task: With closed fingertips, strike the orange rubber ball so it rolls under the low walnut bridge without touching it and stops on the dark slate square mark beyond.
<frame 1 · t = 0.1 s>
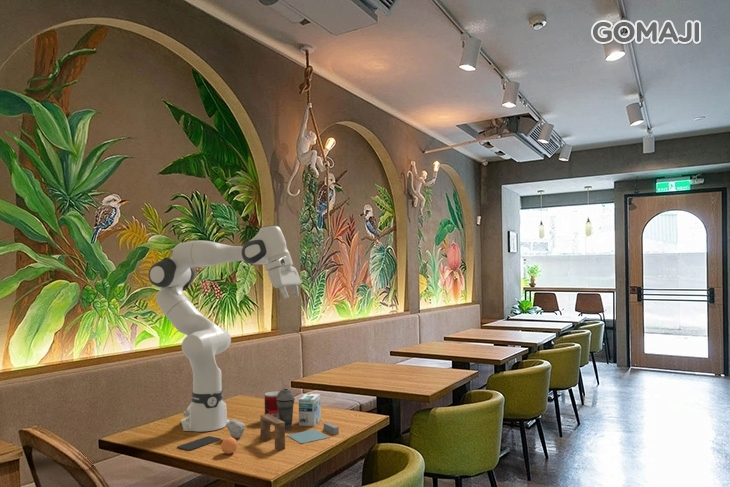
hand: (292, 297, 206), 52 cm above the table, tool tilted 20°, fingers open, 8 cm apart
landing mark: (308, 436, 199), on the table
ball: (229, 445, 182), on the table
light bulb box: (310, 423, 217), on the table
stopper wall: (331, 431, 204), on the table
bridge: (272, 444, 191), on the table
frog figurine: (235, 438, 198), on the table
phone: (199, 445, 193), on the table
canned food: (274, 420, 222), on the table
beverage cup: (285, 429, 209), on the table
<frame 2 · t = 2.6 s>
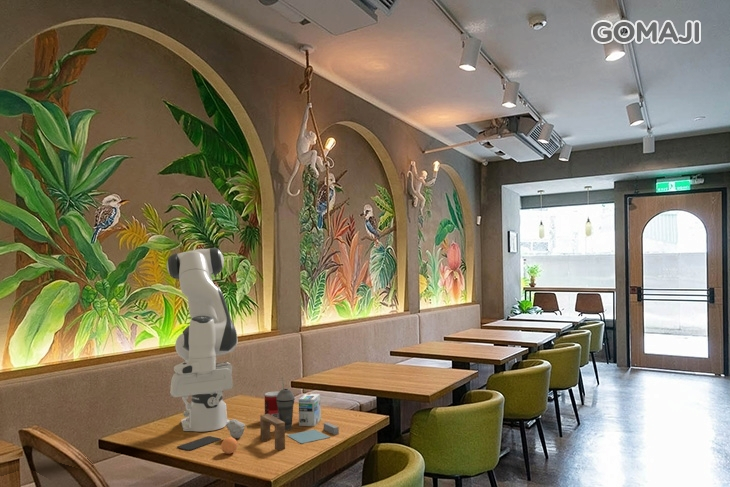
hand: (202, 406, 177), 17 cm above the table, tool pointing down, fingers open, 8 cm apart
nothing on the table moved.
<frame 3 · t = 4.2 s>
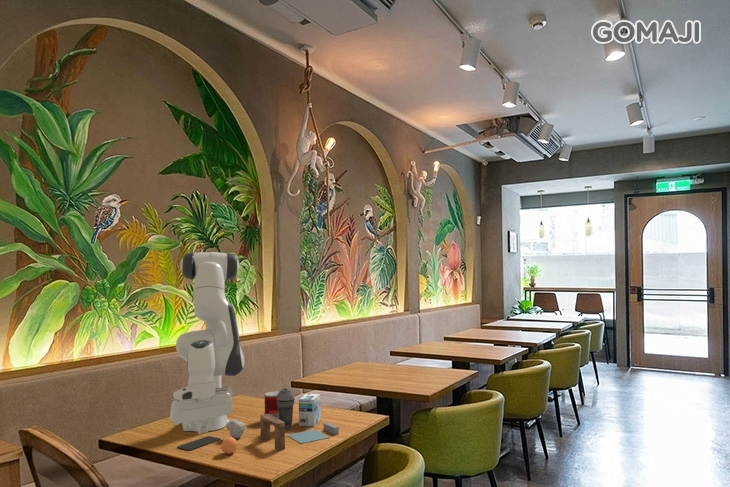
hand: (202, 432, 176), 9 cm above the table, tool pointing down, fingers closed
nothing on the table moved.
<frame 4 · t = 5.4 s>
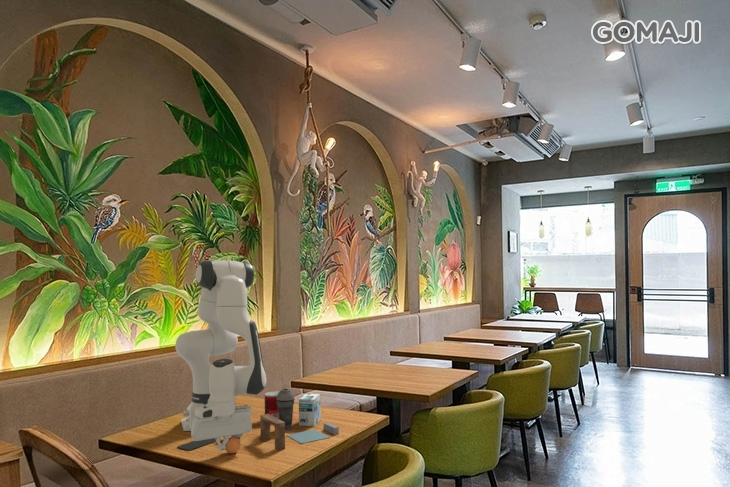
hand: (222, 449, 180), 2 cm above the table, tool pointing down, fingers closed
ball: (232, 445, 182), on the table, touching gripper
everything else where it was.
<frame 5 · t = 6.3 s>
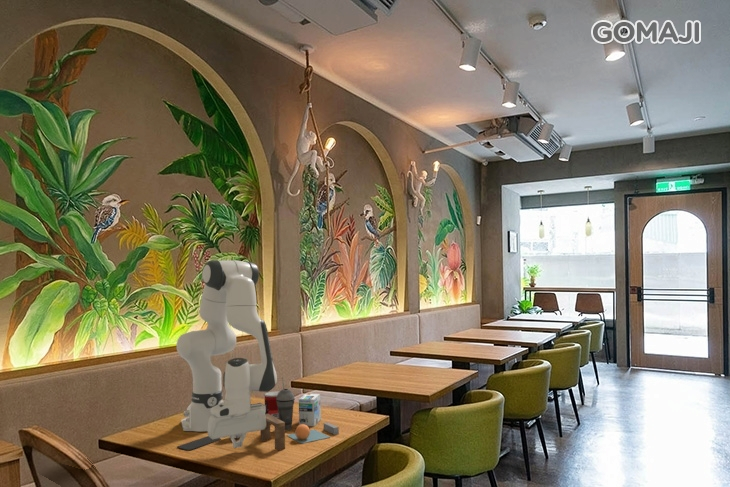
hand: (237, 446, 183), 2 cm above the table, tool pointing down, fingers closed
ball: (302, 431, 196), on the table
everything else where it was.
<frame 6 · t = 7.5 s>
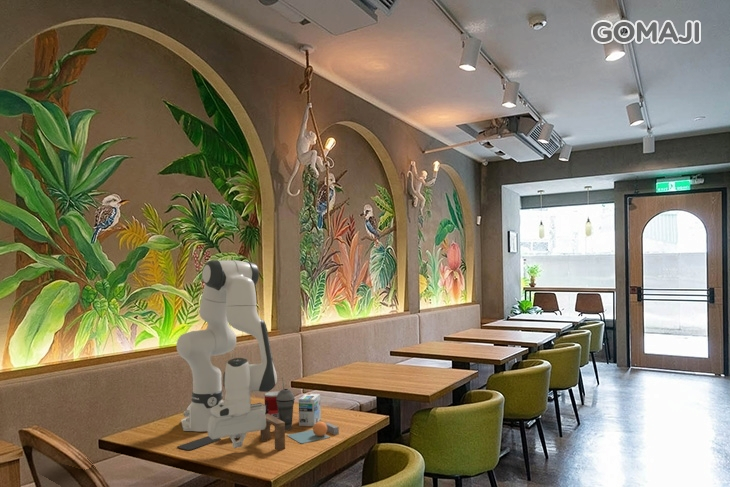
hand: (237, 446, 183), 2 cm above the table, tool pointing down, fingers closed
ball: (320, 429, 199), on the table
everything else where it was.
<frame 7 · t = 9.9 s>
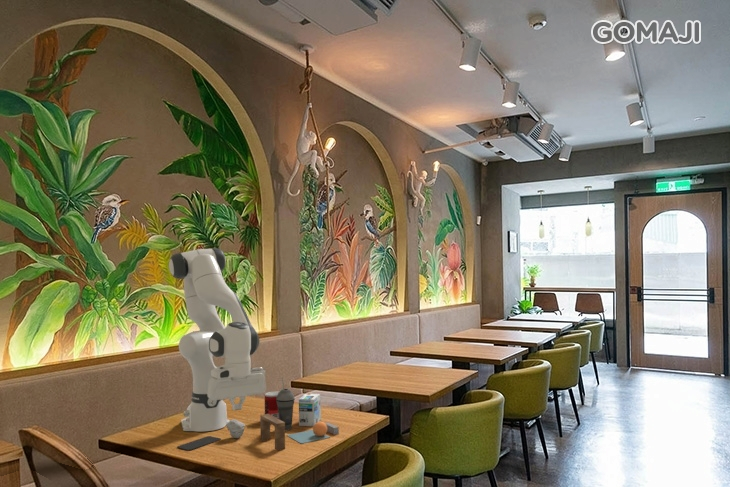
hand: (237, 409, 184), 14 cm above the table, tool pointing down, fingers closed
nothing on the table moved.
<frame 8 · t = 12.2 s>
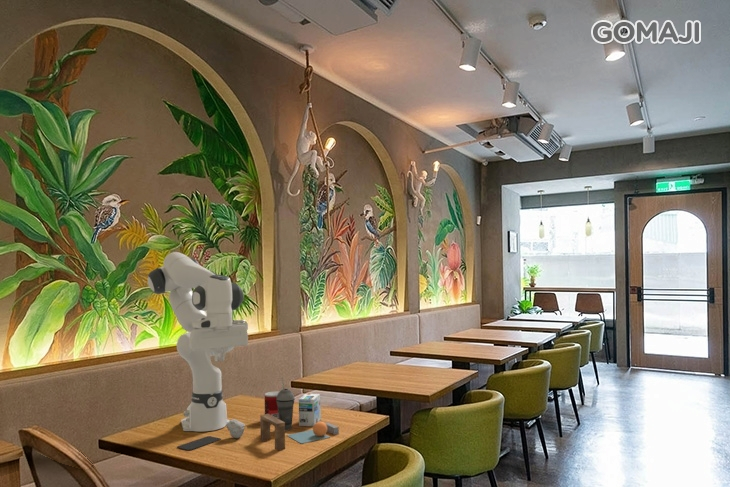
hand: (219, 361, 185), 31 cm above the table, tool pointing down, fingers closed
nothing on the table moved.
at the end: ball 4.5 cm from the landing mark (horizontally); ball never touched bridge; ball at rest at the end (0.0 cm/s) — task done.
